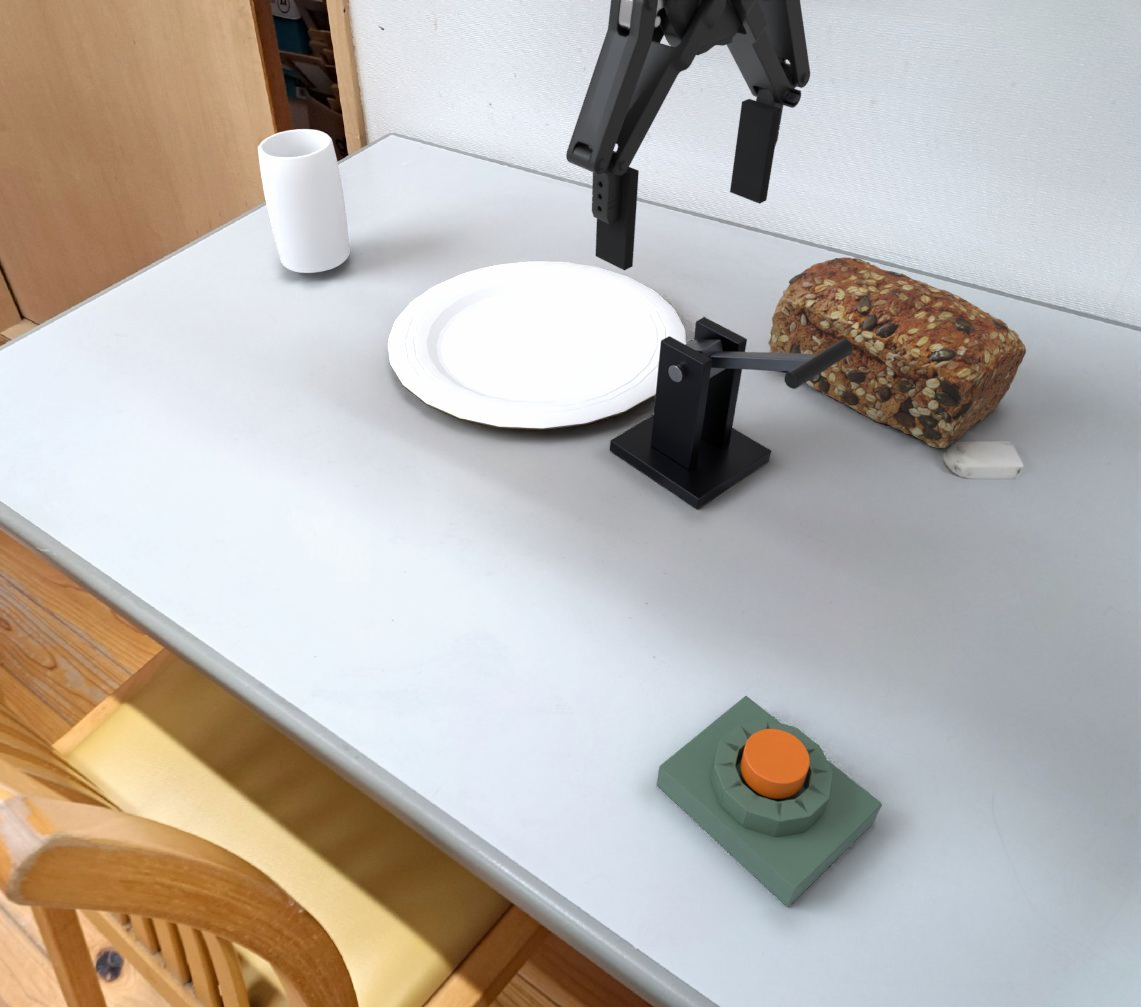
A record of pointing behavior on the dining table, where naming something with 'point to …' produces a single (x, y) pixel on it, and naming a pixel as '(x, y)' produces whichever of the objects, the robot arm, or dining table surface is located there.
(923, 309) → the bread
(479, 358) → the plate
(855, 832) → the control block
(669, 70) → the robot arm
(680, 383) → the bracket
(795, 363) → the lever
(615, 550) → the dining table surface
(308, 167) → the cup
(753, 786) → the button
